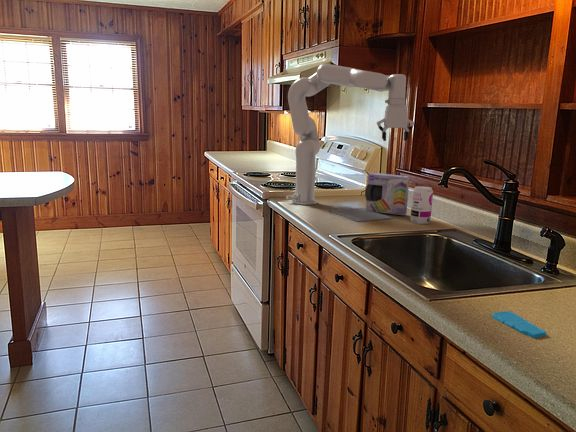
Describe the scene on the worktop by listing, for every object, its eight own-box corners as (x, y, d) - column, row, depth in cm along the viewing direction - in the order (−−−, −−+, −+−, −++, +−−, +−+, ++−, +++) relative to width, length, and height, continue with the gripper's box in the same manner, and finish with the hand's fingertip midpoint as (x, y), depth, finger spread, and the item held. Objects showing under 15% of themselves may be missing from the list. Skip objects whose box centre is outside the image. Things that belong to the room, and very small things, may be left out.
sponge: (525, 336, 102) (549, 330, 103) (489, 313, 113) (510, 308, 115) (525, 342, 102) (548, 337, 104) (489, 318, 114) (510, 314, 115)
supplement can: (431, 221, 208) (434, 187, 205) (428, 225, 201) (431, 189, 198) (412, 219, 212) (415, 185, 208) (408, 223, 204) (411, 188, 201)
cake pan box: (362, 210, 224) (366, 172, 220) (366, 208, 228) (370, 171, 224) (403, 216, 215) (408, 177, 212) (406, 215, 220) (411, 176, 216)
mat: (357, 222, 203) (357, 220, 203) (330, 211, 222) (330, 210, 222) (392, 218, 211) (392, 217, 211) (363, 208, 230) (364, 207, 230)
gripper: (379, 102, 215) (377, 141, 219) (417, 102, 215) (415, 141, 219) (375, 102, 222) (374, 140, 226) (413, 102, 223) (411, 140, 226)
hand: (394, 140), depth 223 cm, fingers open, 9 cm apart
